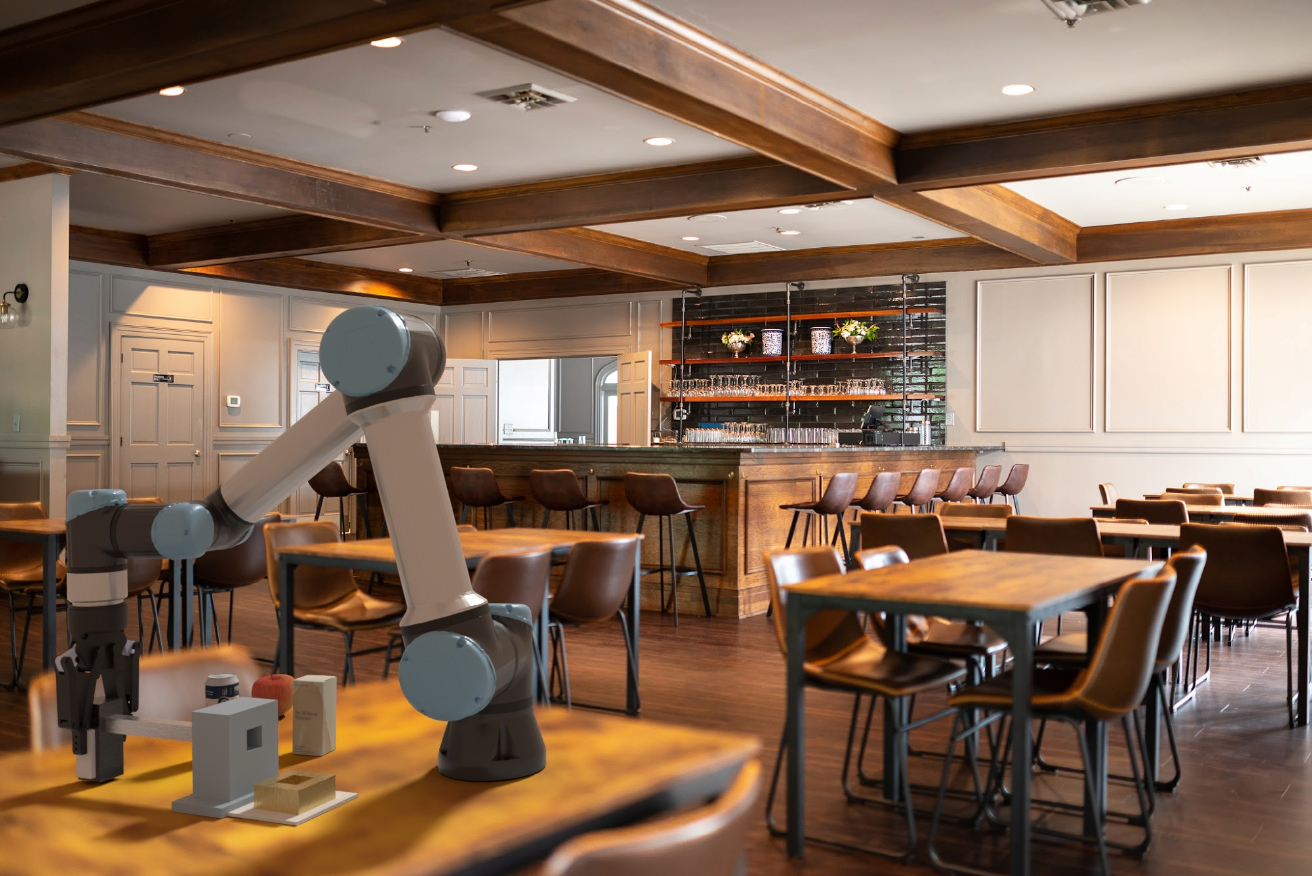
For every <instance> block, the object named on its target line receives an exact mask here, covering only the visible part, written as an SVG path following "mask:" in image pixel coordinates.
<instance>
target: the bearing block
mask: <svg viewBox="0 0 1312 876" xmlns="http://www.w3.org/2000/svg"><path fill="white" fill-rule="evenodd" d="M191 722H192V742H191V751H192V752H191V756H192V757H191V759H192V761H191V762H192V763H191V764H192V765H191V767H192V773H191V774H192V793H190V794H188V795H186V796H182V797H181V798H178V799H175V800H173V801H171V812H173V813H180V814H181V813H182V814H189V815H194V816H201V817H210V818H216V819H217V818H218V819H225V818H226V817H229V816H228V812H231V811H233V810H235V809H238V808H240V807H243V806H245V805H247V804H250V803H252V802H254V784H256V783H259V782H262V781H264V780H267V779H269V778H272V777H274V776H277V775H279V773H280V771H279V768H280V767H279V757H280V756H279V717H278V700H273V699H262V698H252V696H251V697H249V696H248V697H247V696H239V698H236V699H232V700H229V701H226V702H222V703H219V704H216V705H212V706H209V707H206V708H205V707H203V708H199V709H196V710H192V711H191Z"/></svg>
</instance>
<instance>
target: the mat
mask: <svg viewBox="0 0 1312 876" xmlns="http://www.w3.org/2000/svg"><path fill="white" fill-rule="evenodd" d="M358 797H359V793H357V792H348V791H341V790H336V799H334V800H331V801H329V802H327V803H325V804H323V805H320V806H318V807H316V808H314V809H311V810H309V811H307V812H305V813H302V814H300V815H294V814H287V813H280V812H273V811H266V810H259V809H254V802H252V803H250V804H247V805H245V806H243V807H240V808H238V809H235V810H233V811H231V812H228V816H227V817H233V818H240V819H246V820H247V819H248V820H255V821H262V822H270V823H276V824H283V825H289V826H299V825H301V824H303V823H305V822H307V821H309V820H311V819H314V818H316V817H318V816H320V815H322V814H324V813H327V812H328V811H330V810H331V811H332V810H333V809H335V808H337V807H339V806H341V805H343V804H345V803H347V802H349V801H352V800H353V799H356V798H358Z"/></svg>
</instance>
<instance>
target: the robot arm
mask: <svg viewBox="0 0 1312 876" xmlns="http://www.w3.org/2000/svg"><path fill="white" fill-rule="evenodd" d="M323 332H324V333H323V334H322V336H321V339H320V342H319V347H318V360H319V366H320V370H321V372H322V373H323V376H324V378H325V379H326V381H327V383H329V384H330V385H331V386H332V387H333V388H334V390H333V391H332V392H331V393H330V394H329V395H328V396H326V397H324V399H322V400H321V401H320V402H319V403H318V404H317V405H316V406H314V407H313V408H311V410H309V411H308V412H306V413H305V415H303V416H302V417H301V418H299V419H298V420H297V421H296V422H295V423H293V424H292V425H291V426H290V427H289V428H288V429H286V430H285V431H284V432H283V433H282V434H280V435H279V436H278V437H276V438H275V439H274V440H273V441H271V442H270V443H269V444H268V445H266V447H264V449H262V450H261V451H259V452H258V453H257V454H256V455H255V456H254V457H252V458H251V459H250V460H249V461H247V462H245V464H244V465H242V467H240V468H239V469H238V470H237V471H236V472H234V473H233V474H232V475H230V476H229V477H228V478H227V479H226V480H225V481H223V482H222V483H221V484H220V485H219V486H218V487H216V488H215V489H214V490H212V491H211V492H210V493H209V494H208V495H206V496H205V497H203V498H202V499H196V500H187V501H186V500H185V501H175V502H161V503H159V502H158V503H130V502H129V503H128V498H127V493H126V491H124V490H123V489H121V488H119V489H118V488H116V489H115V488H114V489H113V488H103V489H102V488H101V489H97V488H96V489H95V488H94V489H78V490H73V491H72V492H70V493H69V494H68V496H67V497H66V510H65V520H64V525H65V526H64V527H65V537H66V538H65V540H66V554H67V556H66V557H67V558H66V560H67V566H66V596H67V597H66V600H67V601H68V602H69V603H72V604H70V605H68V607H67V609H66V610H67V611H66V612H67V613H66V614H67V615H66V620H67V623H66V624H67V631H68V632H69V634H70V636H71V637H70V638H71V639H70V643H69V644H68V650H67V651H65V652H64V653H62V654H61V655H53V656H52V657H51V659H50V662H51V665H52V668H53V670H54V673H55V693H56V710H57V711H56V714H57V727H58V728H59V729H66V730H69V731H71V741H72V742H71V743H72V745H71V746H72V747H71V750H72V754H73V755H75V767H76V768H75V769H76V770H75V776H76V778H78V777H79V778H87V779H93V778H96V762H95V729H89V728H90V722H91V715H92V708H93V702H94V698H95V693H96V688H97V687H96V686H97V681H98V679H100V677H101V681H102V686H103V692H104V696H105V697H116V698H123V715H129V716H134V715H133V714H134V713H136V712H138V710H139V709H140V706H139V705H140V658H141V653H142V650H143V647H144V643H143V641H137V640H130V639H128V638H127V635H126V632H125V629H127V628H128V626H129V604H128V603H127V601H125V600H124V599H126V598H127V597H128V595H129V593H128V592H129V590H128V588H129V587H128V583H129V582H128V560H130V559H131V560H132V559H150V560H151V559H153V560H154V559H156V560H157V559H160V560H171V561H179V560H187V559H188V560H189V559H197V558H200V557H202V556H203V555H205V553H206V552H211V551H216V550H217V551H220V550H228V549H231V548H233V547H235V546H238V545H241V544H242V543H245V542H246V541H247V540H248V539H249V538H250V537H251V535H252V533H253V531H254V527H255V524H257V523H258V522H259V521H260V520H262V519H263V518H264V517H266V516H267V515H268V514H269V513H270V512H272V511H273V509H275V508H276V507H277V506H279V505H280V504H281V503H283V501H285V500H286V499H288V498H289V497H290V496H292V494H294V493H295V492H297V490H299V489H300V488H301V487H302V486H304V485H305V484H306V483H307V482H308V481H310V480H311V479H312V478H313V477H315V476H316V475H317V474H318V473H320V472H321V471H322V470H323V469H324V468H326V467H327V466H328V465H329V464H331V463H332V462H333V461H334V460H336V459H337V458H338V457H339V456H341V455H342V454H343V453H344V452H345V451H346V450H348V449H349V448H350V447H352V446H353V445H354V444H356V442H358V441H359V440H361V439H362V438H363V437H364V439H365V442H366V446H367V450H368V454H369V458H370V463H371V466H372V470H373V474H374V478H375V482H376V486H377V490H378V494H379V498H380V503H381V506H382V510H383V515H384V519H385V522H386V527H387V531H388V534H389V539H390V542H391V547H392V550H393V556H394V559H395V562H396V563H395V564H396V567H397V571H398V575H399V579H400V583H401V587H402V591H403V596H404V599H405V603H406V607H407V609H406V612H405V613H404V614H403V617H402V618H401V620H400V621H399V628H400V632H401V637H402V641H403V645H404V648H405V649H404V651H403V653H402V656H401V659H400V660H399V664H398V673H397V674H398V676H397V677H398V682H399V687H400V690H401V692H402V693H403V696H404V697H405V699H406V701H407V702H408V704H410V705H411V707H413V709H414V710H416V711H417V712H418V713H420V714H421V715H423V716H425V717H427V718H429V719H432V720H435V721H439V722H446V724H445V725H446V726H445V729H444V733H443V736H442V738H441V743H440V745H439V750H438V752H437V770H438V772H439V774H441V775H444V776H445V777H448V778H452V779H456V780H463V781H471V782H472V781H473V782H474V781H476V782H486V781H487V782H489V781H491V782H492V781H503V780H511V779H518V778H521V777H525V776H529V775H532V774H534V773H537V772H539V771H541V770H543V769H544V768H545V767H546V766H547V747H546V744H545V741H544V737H543V735H542V732H541V728H540V726H539V723H538V720H537V717H536V714H535V711H534V673H533V672H534V668H533V667H534V663H533V662H534V661H533V659H534V658H533V657H534V656H533V653H534V651H533V650H534V648H533V647H534V645H533V641H534V640H533V632H534V623H533V617H532V610H531V608H530V607H529V606H528V605H526V604H523V603H493V602H492V603H491V602H490V603H489V601H488V599H487V598H485V597H483V596H482V595H480V594H479V593H477V592H476V591H475V590H474V589H473V586H472V583H471V578H470V574H469V570H468V566H467V562H466V559H465V554H464V550H463V547H462V543H461V538H460V535H459V530H458V527H457V522H456V519H455V515H454V511H453V507H452V503H451V499H450V495H449V490H448V488H447V484H446V483H447V482H446V479H445V475H444V471H443V468H442V464H441V459H440V455H439V452H438V448H437V444H436V440H435V435H434V431H433V428H432V423H431V419H430V415H429V414H430V410H431V408H432V407H433V405H434V403H435V401H437V395H436V391H435V387H436V386H437V385H438V383H439V382H440V380H441V379H442V377H443V375H444V372H445V369H446V366H447V365H446V364H447V351H446V345H445V342H444V340H443V338H442V336H441V333H439V331H438V330H437V329H436V327H434V326H433V325H432V324H431V323H430V322H428V321H427V320H425V319H424V318H422V317H419V316H417V315H413V314H409V313H403V312H400V311H397V310H395V309H392V308H390V307H386V306H384V305H376V304H375V305H373V304H372V305H366V304H365V305H357V306H354V307H350V308H347V309H346V310H344V311H342V312H341V313H339V314H338V315H337V316H335V317H334V318H333V319H332V320H331V321H330V323H329V325H328V326H327V327H326V329H325V331H323ZM80 720H81V721H80ZM126 740H127V735H125V734H123V743H126ZM123 748H125V746H123Z"/></svg>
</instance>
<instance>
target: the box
mask: <svg viewBox="0 0 1312 876" xmlns="http://www.w3.org/2000/svg"><path fill="white" fill-rule="evenodd" d="M294 679H295V680H293V706H292V752H291V753H292V754H293V755H301V756H314V757H323V756H326V755H327V754H329V753H331V752H333V751H335V750H336V749H337V685H338V684H337V682H338V681H337V680H338V678H337V676H335V675H324V674H322V675H320V674H317V675H316V674H307V675H304V676H300V677H298V678H294Z"/></svg>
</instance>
